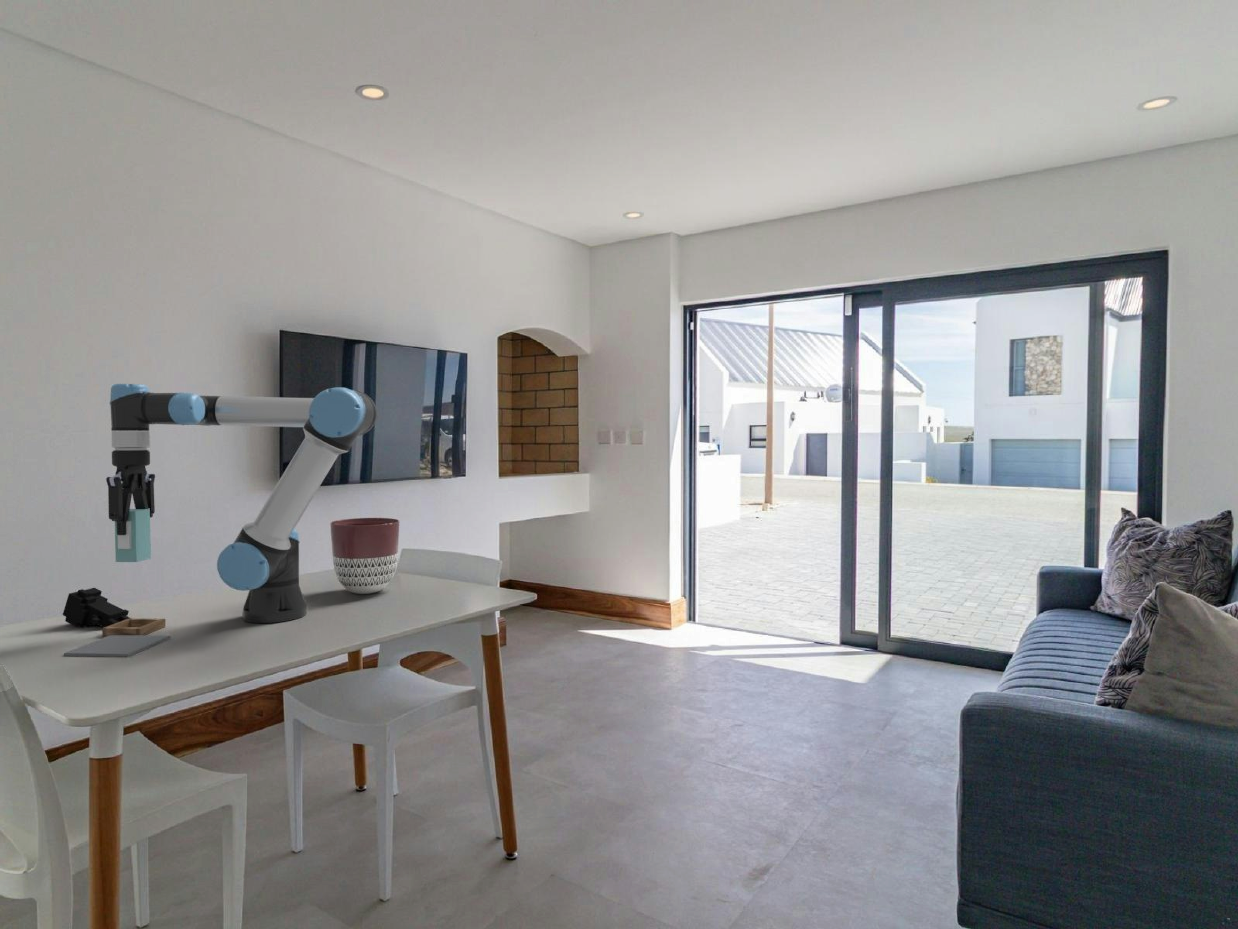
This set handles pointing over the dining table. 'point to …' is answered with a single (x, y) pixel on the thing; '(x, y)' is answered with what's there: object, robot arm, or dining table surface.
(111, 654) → the pad
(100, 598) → the toy
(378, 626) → the dining table surface
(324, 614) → the dining table surface
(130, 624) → the wooden square frame
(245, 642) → the dining table surface
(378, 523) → the planter
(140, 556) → the block
